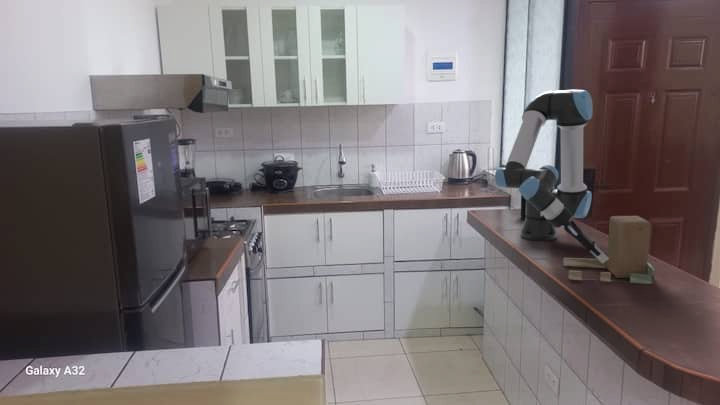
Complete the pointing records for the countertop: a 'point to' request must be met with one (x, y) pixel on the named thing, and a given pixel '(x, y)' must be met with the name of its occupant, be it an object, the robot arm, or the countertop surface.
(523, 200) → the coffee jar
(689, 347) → the countertop surface
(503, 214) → the countertop surface
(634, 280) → the trap lane
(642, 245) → the wooden block
